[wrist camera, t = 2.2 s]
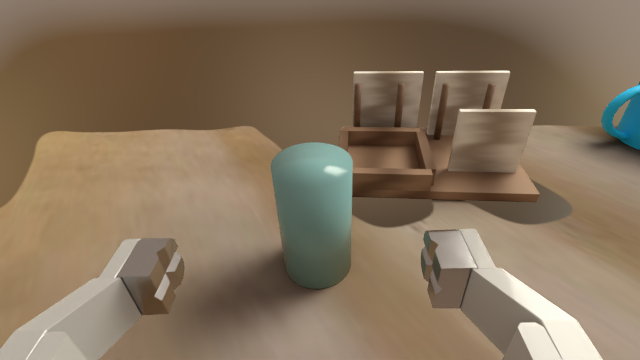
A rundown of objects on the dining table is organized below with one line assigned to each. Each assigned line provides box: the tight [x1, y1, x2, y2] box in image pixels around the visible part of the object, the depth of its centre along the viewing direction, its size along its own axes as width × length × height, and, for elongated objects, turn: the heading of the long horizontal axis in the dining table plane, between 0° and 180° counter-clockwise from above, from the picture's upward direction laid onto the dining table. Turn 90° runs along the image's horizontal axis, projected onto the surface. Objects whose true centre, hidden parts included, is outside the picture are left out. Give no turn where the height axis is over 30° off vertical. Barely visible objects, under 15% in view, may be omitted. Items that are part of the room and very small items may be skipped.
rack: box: [338, 71, 540, 202], centre depth 39 cm, size 20×14×9 cm
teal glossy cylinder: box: [271, 142, 353, 289], centre depth 27 cm, size 6×6×10 cm
